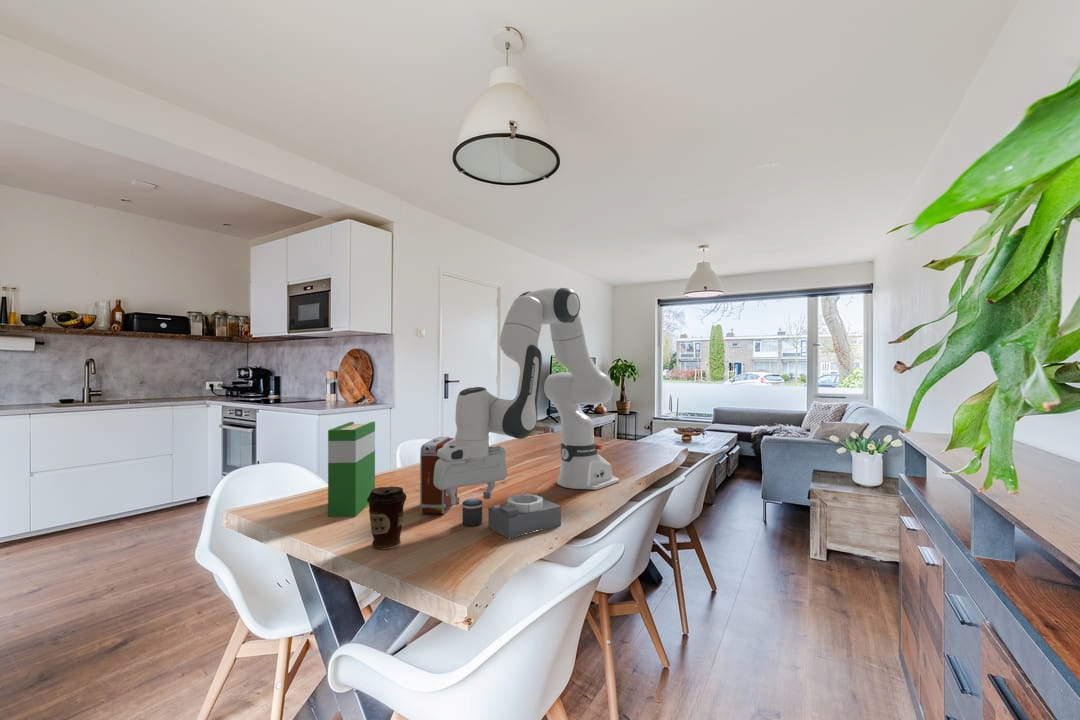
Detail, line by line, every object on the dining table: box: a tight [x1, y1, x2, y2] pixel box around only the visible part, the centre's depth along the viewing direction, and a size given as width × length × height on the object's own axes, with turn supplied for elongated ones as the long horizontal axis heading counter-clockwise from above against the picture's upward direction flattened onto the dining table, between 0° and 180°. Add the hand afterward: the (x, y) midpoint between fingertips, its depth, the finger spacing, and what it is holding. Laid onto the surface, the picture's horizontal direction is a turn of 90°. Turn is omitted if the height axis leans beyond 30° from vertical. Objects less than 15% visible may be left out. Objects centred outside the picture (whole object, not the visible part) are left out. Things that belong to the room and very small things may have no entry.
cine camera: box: [419, 436, 458, 515], centre depth 137 cm, size 9×19×20 cm, turn 174°
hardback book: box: [327, 421, 376, 518], centre depth 135 cm, size 18×7×24 cm, turn 3°
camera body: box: [487, 493, 562, 539], centre depth 119 cm, size 16×10×7 cm, turn 126°
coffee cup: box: [367, 486, 408, 550], centre depth 107 cm, size 9×8×13 cm
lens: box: [461, 498, 483, 528], centre depth 122 cm, size 5×5×6 cm
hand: (471, 501), depth 121 cm, fingers open, 8 cm apart
